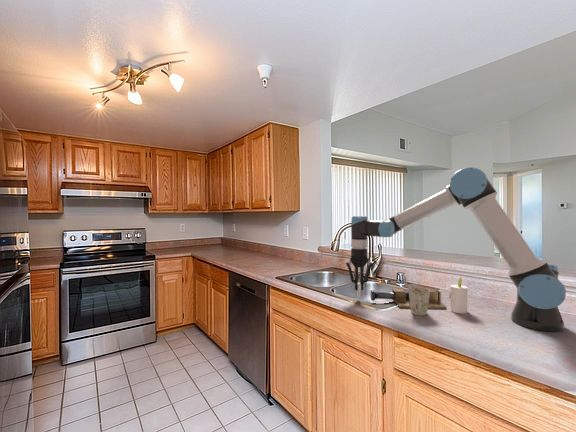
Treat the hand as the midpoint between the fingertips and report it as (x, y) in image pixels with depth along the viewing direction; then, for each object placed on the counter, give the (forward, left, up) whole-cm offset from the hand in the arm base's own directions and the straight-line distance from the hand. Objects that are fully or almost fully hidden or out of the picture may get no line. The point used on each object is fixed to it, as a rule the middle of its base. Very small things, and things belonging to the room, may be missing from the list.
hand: (358, 296), depth 138 cm
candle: (-12, -40, -2) cm, 42 cm away
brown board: (0, -26, -2) cm, 26 cm away
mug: (-18, -22, -2) cm, 28 cm away
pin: (0, -17, -2) cm, 17 cm away
